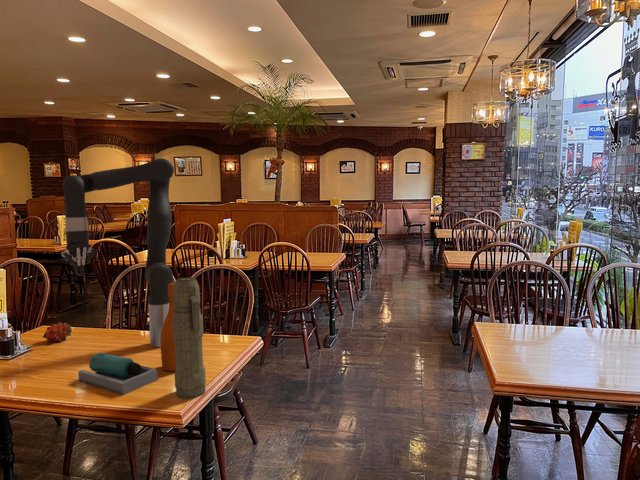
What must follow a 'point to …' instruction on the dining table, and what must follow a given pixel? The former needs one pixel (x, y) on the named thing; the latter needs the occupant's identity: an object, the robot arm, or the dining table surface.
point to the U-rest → (119, 380)
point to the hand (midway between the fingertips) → (80, 275)
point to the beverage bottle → (114, 365)
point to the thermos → (188, 339)
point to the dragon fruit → (57, 332)
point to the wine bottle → (168, 336)
